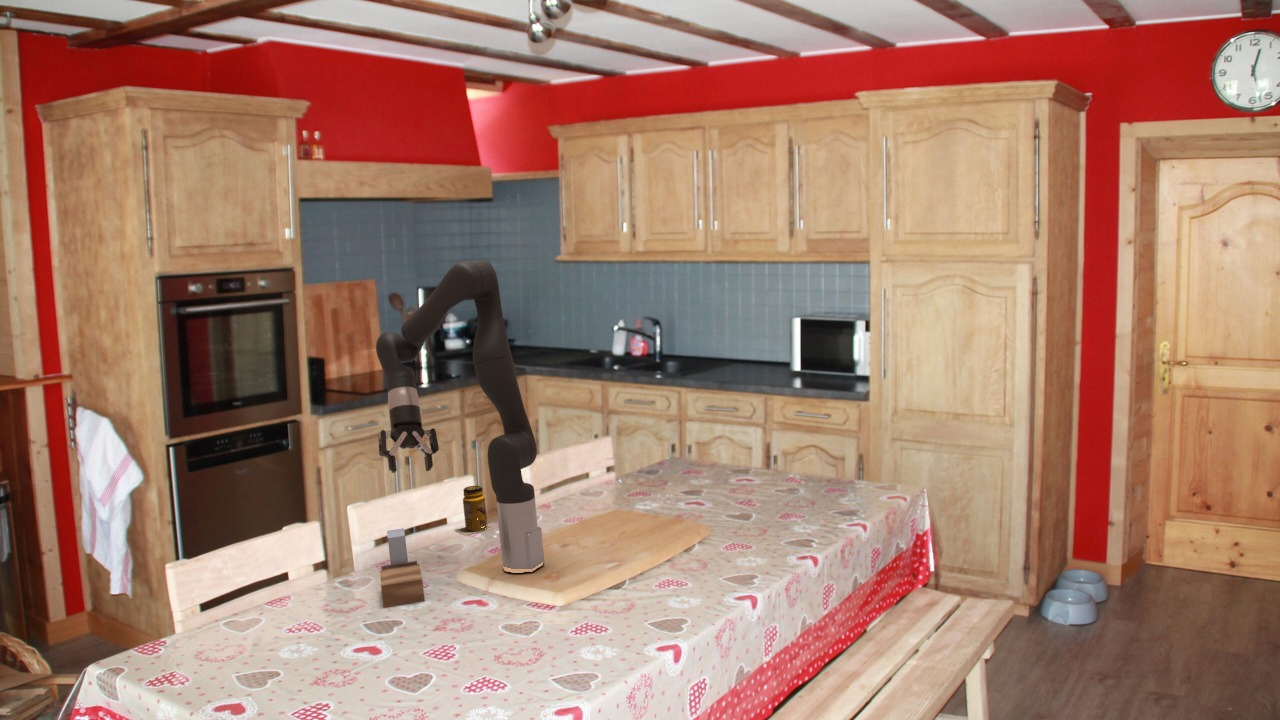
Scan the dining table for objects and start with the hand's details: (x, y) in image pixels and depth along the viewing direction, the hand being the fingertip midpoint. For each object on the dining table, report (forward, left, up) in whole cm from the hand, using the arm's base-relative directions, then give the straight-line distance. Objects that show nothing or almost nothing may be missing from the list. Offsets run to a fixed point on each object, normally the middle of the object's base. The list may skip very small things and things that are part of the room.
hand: (411, 471), depth 254 cm
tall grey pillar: (0, +8, -25) cm, 26 cm away
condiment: (+7, -34, -25) cm, 43 cm away
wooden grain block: (-4, +14, -25) cm, 29 cm away
